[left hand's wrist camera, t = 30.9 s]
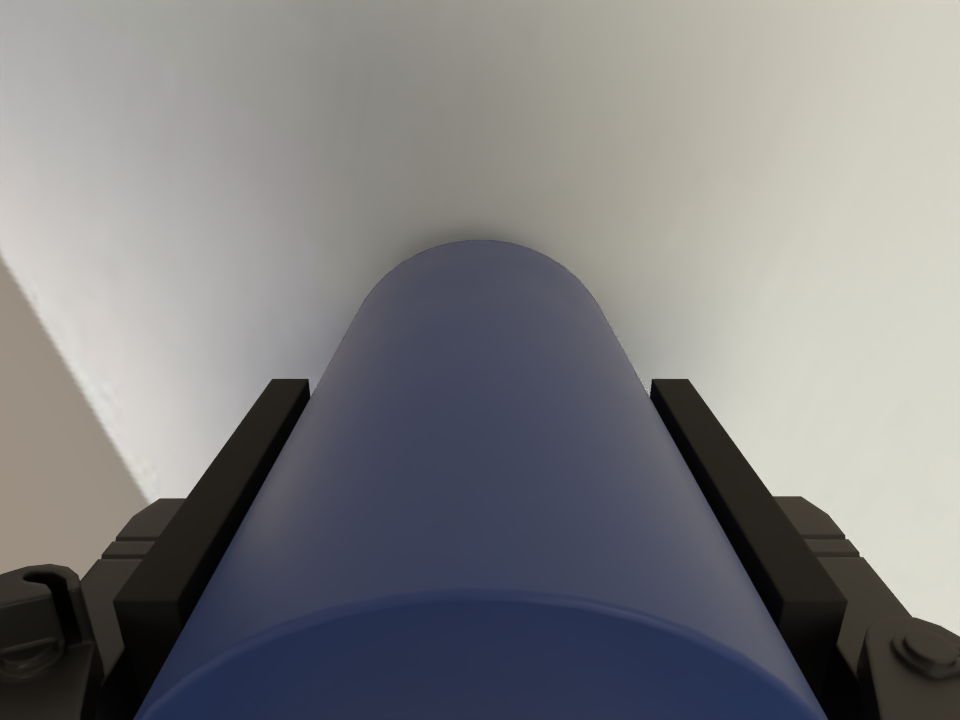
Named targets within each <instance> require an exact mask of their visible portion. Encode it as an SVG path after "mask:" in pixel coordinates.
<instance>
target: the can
mask: <svg viewBox="0 0 960 720" xmlns="http://www.w3.org/2000/svg"><path fill="white" fill-rule="evenodd" d="M133 720H828V719H827V717H826V715H825V713H824V711H823V710H822V708H821V706H820V704H819V702H818V701H817V699H816V697H815V695H814V693H813V692H812V690H811V688H810V686H809V684H808V683H807V681H806V679H805V677H804V675H803V674H802V672H801V670H800V668H799V666H798V665H797V663H796V661H795V659H794V657H793V656H792V654H791V652H790V650H789V648H788V646H787V645H786V643H785V641H784V639H783V637H782V636H781V634H780V632H779V630H778V628H777V627H776V625H775V623H774V621H773V619H772V618H771V616H770V614H769V612H768V610H767V609H766V607H765V605H764V603H763V601H762V600H761V598H760V596H759V594H758V592H757V591H756V589H755V587H754V585H753V583H752V581H751V580H750V578H749V576H748V574H747V572H746V571H745V569H744V567H743V565H742V563H741V562H740V560H739V558H738V556H737V554H736V553H735V551H734V549H733V547H732V545H731V544H730V542H729V540H728V538H727V536H726V535H725V533H724V531H723V529H722V527H721V526H720V524H719V522H718V520H717V518H716V516H715V515H714V513H713V511H712V509H711V507H710V506H709V504H708V502H707V500H706V498H705V497H704V495H703V493H702V491H701V489H700V488H699V486H698V484H697V482H696V480H695V479H694V477H693V475H692V473H691V471H690V470H689V468H688V466H687V464H686V462H685V461H684V459H683V457H682V455H681V453H680V452H679V450H678V448H677V446H676V444H675V442H674V441H673V439H672V437H671V435H670V433H669V432H668V430H667V428H666V426H665V424H664V423H663V421H662V419H661V417H660V415H659V414H658V412H657V410H656V408H655V406H654V405H653V403H652V401H651V399H650V397H649V396H648V394H647V392H646V390H645V388H644V387H643V385H642V383H641V381H640V379H639V377H638V376H637V374H636V372H635V370H634V368H633V367H632V365H631V363H630V361H629V359H628V358H627V356H626V354H625V352H624V350H623V349H622V347H621V345H620V343H619V341H618V340H617V338H616V336H615V334H614V332H613V331H612V329H611V327H610V325H609V323H608V322H607V320H606V318H605V316H604V314H603V313H602V311H601V309H600V307H599V305H598V304H597V302H596V301H595V299H594V298H593V296H592V295H591V294H590V292H589V291H588V289H587V288H586V287H585V286H584V285H583V284H582V283H581V282H580V281H579V280H578V279H577V278H576V277H575V276H574V275H573V274H572V273H570V272H569V271H568V270H567V269H566V268H564V267H563V266H562V265H560V264H559V263H557V262H555V261H554V260H552V259H550V258H549V257H547V256H545V255H543V254H541V253H538V252H536V251H534V250H532V249H529V248H526V247H523V246H519V245H516V244H512V243H507V242H500V241H493V240H469V241H460V242H453V243H449V244H445V245H441V246H437V247H434V248H431V249H429V250H426V251H424V252H421V253H419V254H417V255H415V256H413V257H411V258H410V259H408V260H406V261H404V262H402V263H401V264H400V265H398V266H397V267H396V268H394V269H393V270H392V271H390V272H389V273H388V274H387V275H386V276H385V277H384V278H383V279H382V280H381V281H380V282H379V283H378V284H377V285H376V286H375V287H374V288H373V290H372V291H371V292H370V294H369V295H368V296H367V297H366V299H365V300H364V302H363V304H362V306H361V307H360V309H359V311H358V313H357V315H356V316H355V318H354V320H353V322H352V324H351V325H350V327H349V329H348V331H347V333H346V334H345V336H344V338H343V340H342V342H341V344H340V345H339V347H338V349H337V351H336V353H335V354H334V356H333V358H332V360H331V362H330V364H329V365H328V367H327V369H326V371H325V373H324V374H323V376H322V378H321V380H320V382H319V383H318V385H317V387H316V389H315V391H314V393H313V394H312V396H311V398H310V400H309V402H308V403H307V405H306V407H305V409H304V411H303V413H302V414H301V416H300V418H299V420H298V422H297V423H296V425H295V427H294V429H293V431H292V432H291V434H290V436H289V438H288V440H287V442H286V443H285V445H284V447H283V449H282V451H281V452H280V454H279V456H278V458H277V460H276V462H275V463H274V465H273V467H272V469H271V471H270V472H269V474H268V476H267V478H266V480H265V481H264V483H263V485H262V487H261V489H260V491H259V492H258V494H257V496H256V498H255V500H254V501H253V503H252V505H251V507H250V509H249V511H248V512H247V514H246V516H245V518H244V520H243V521H242V523H241V525H240V527H239V529H238V530H237V532H236V534H235V536H234V538H233V540H232V541H231V543H230V545H229V547H228V549H227V550H226V552H225V554H224V556H223V558H222V560H221V561H220V563H219V565H218V567H217V569H216V570H215V572H214V574H213V576H212V578H211V579H210V581H209V583H208V585H207V587H206V589H205V590H204V592H203V594H202V596H201V598H200V599H199V601H198V603H197V605H196V607H195V609H194V610H193V612H192V614H191V616H190V618H189V619H188V621H187V623H186V625H185V627H184V629H183V630H182V632H181V634H180V636H179V638H178V639H177V641H176V643H175V645H174V647H173V648H172V650H171V652H170V654H169V656H168V658H167V659H166V661H165V663H164V665H163V667H162V668H161V670H160V672H159V674H158V676H157V678H156V679H155V681H154V683H153V685H152V687H151V688H150V690H149V692H148V694H147V696H146V697H145V699H144V701H143V703H142V705H141V707H140V708H139V710H138V712H137V714H136V716H135V717H134V719H133Z"/></svg>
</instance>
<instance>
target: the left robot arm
mask: <svg viewBox="0 0 960 720" xmlns="http://www.w3.org/2000/svg"><path fill="white" fill-rule="evenodd" d="M650 399H651V401H652V403H653V405H654V406H655V408H656V410H657V412H658V414H659V415H660V417H661V419H662V421H663V423H664V424H665V426H666V428H667V430H668V432H669V433H670V435H671V437H672V439H673V441H674V442H675V444H676V446H677V448H678V450H679V452H680V453H681V455H682V457H683V459H684V461H685V462H686V464H687V466H688V468H689V470H690V471H691V473H692V475H693V477H694V479H695V480H696V482H697V484H698V486H699V488H700V489H701V491H702V493H703V495H704V497H705V498H706V500H707V502H708V504H709V506H710V507H711V509H712V511H713V513H714V515H715V516H716V518H717V520H718V522H719V524H720V526H721V527H722V529H723V531H724V533H725V535H726V536H727V538H728V540H729V542H730V544H731V545H732V547H733V549H734V551H735V553H736V554H737V556H738V558H739V560H740V562H741V563H742V565H743V567H744V569H745V571H746V572H747V574H748V576H749V578H750V580H751V581H752V583H753V585H754V587H755V589H756V591H757V592H758V594H759V596H760V598H761V600H762V601H763V603H764V605H765V607H766V609H767V610H768V612H769V614H770V616H771V618H772V619H773V621H774V623H775V625H776V627H777V628H778V630H779V632H780V634H781V636H782V637H783V639H784V641H785V643H786V645H787V646H788V648H789V650H790V652H791V654H792V656H793V657H794V659H795V661H796V663H797V665H798V666H799V668H800V670H801V672H802V674H803V675H804V677H805V679H806V681H807V683H808V684H809V686H810V688H811V690H812V692H813V693H814V695H815V697H816V699H817V701H818V702H819V704H820V706H821V708H822V710H823V711H824V713H825V715H826V717H827V719H828V720H960V637H959V636H958V635H956V634H954V633H952V632H950V631H949V630H947V629H945V628H943V627H941V626H939V625H936V624H933V623H930V622H927V621H924V620H921V619H918V618H913V617H912V616H911V615H910V614H909V613H908V611H907V610H906V609H905V608H904V606H903V605H902V604H901V603H900V602H899V600H898V599H897V598H896V597H895V595H894V594H893V593H892V592H891V591H890V589H889V588H888V587H887V586H886V584H885V583H884V582H883V581H882V580H881V578H880V577H879V576H878V575H877V574H876V572H875V571H874V570H873V569H872V567H871V566H870V565H869V564H868V563H867V561H866V560H865V559H864V558H863V557H860V555H859V552H858V550H857V549H856V548H855V547H854V546H853V544H852V543H851V542H850V541H849V539H845V535H844V533H843V532H842V531H841V530H840V528H839V527H838V526H837V525H836V524H835V522H834V521H833V520H832V519H831V517H830V516H829V515H828V514H827V513H825V512H824V511H822V510H821V509H819V508H818V507H816V506H815V505H813V504H812V503H810V502H809V501H807V500H806V499H804V498H803V497H801V496H772V495H771V493H770V492H769V491H768V489H767V488H766V487H765V485H764V484H763V482H762V481H761V480H760V478H759V477H758V475H757V474H756V473H755V471H754V470H753V468H752V467H751V466H750V464H749V463H748V462H747V460H746V459H745V457H744V456H743V455H742V453H741V452H740V450H739V449H738V448H737V446H736V445H735V444H734V442H733V441H732V439H731V438H730V437H729V435H728V434H727V432H726V431H725V430H724V428H723V427H722V425H721V424H720V423H719V421H718V420H717V419H716V417H715V416H714V414H713V413H712V412H711V410H710V409H709V407H708V406H707V405H706V403H705V402H704V400H703V399H702V398H701V396H700V395H699V394H698V392H697V391H696V389H695V388H694V387H693V385H692V384H691V382H690V381H689V380H688V379H652V383H651V393H650ZM309 400H310V389H309V380H308V379H272V380H271V382H270V383H269V384H268V386H267V387H266V388H265V390H264V391H263V393H262V394H261V395H260V397H259V398H258V400H257V401H256V402H255V404H254V405H253V407H252V408H251V409H250V411H249V412H248V413H247V415H246V416H245V418H244V419H243V420H242V422H241V423H240V425H239V426H238V427H237V429H236V430H235V432H234V433H233V434H232V436H231V437H230V438H229V440H228V441H227V443H226V444H225V445H224V447H223V448H222V450H221V451H220V452H219V454H218V455H217V457H216V458H215V459H214V461H213V462H212V463H211V465H210V466H209V468H208V469H207V470H206V472H205V473H204V475H203V476H202V477H201V479H200V480H199V482H198V483H197V484H196V486H195V487H194V488H193V490H192V491H191V493H190V494H189V495H188V497H187V498H186V499H158V500H157V501H155V502H154V503H152V504H151V505H149V506H148V507H146V508H145V509H143V510H142V511H140V512H139V513H137V514H136V515H134V516H133V517H132V518H131V520H130V521H129V522H128V523H127V524H126V526H125V527H124V528H123V529H122V531H121V532H120V533H119V534H118V536H117V537H116V541H115V542H112V543H111V544H110V545H109V547H108V548H107V549H106V550H105V551H104V553H103V554H102V558H101V559H98V560H97V561H96V562H95V564H94V565H93V566H92V567H91V569H90V570H89V571H88V572H87V573H86V575H85V576H84V577H83V578H82V580H81V581H80V580H79V576H78V575H77V574H76V573H75V572H74V571H72V570H71V569H70V568H69V567H65V566H59V565H53V564H45V565H36V566H27V567H24V568H20V569H17V570H14V571H10V572H7V573H4V574H1V575H0V720H133V719H134V717H135V716H136V714H137V712H138V710H139V708H140V707H141V705H142V703H143V701H144V699H145V697H146V696H147V694H148V692H149V690H150V688H151V687H152V685H153V683H154V681H155V679H156V678H157V676H158V674H159V672H160V670H161V668H162V667H163V665H164V663H165V661H166V659H167V658H168V656H169V654H170V652H171V650H172V648H173V647H174V645H175V643H176V641H177V639H178V638H179V636H180V634H181V632H182V630H183V629H184V627H185V625H186V623H187V621H188V619H189V618H190V616H191V614H192V612H193V610H194V609H195V607H196V605H197V603H198V601H199V599H200V598H201V596H202V594H203V592H204V590H205V589H206V587H207V585H208V583H209V581H210V579H211V578H212V576H213V574H214V572H215V570H216V569H217V567H218V565H219V563H220V561H221V560H222V558H223V556H224V554H225V552H226V550H227V549H228V547H229V545H230V543H231V541H232V540H233V538H234V536H235V534H236V532H237V530H238V529H239V527H240V525H241V523H242V521H243V520H244V518H245V516H246V514H247V512H248V511H249V509H250V507H251V505H252V503H253V501H254V500H255V498H256V496H257V494H258V492H259V491H260V489H261V487H262V485H263V483H264V481H265V480H266V478H267V476H268V474H269V472H270V471H271V469H272V467H273V465H274V463H275V462H276V460H277V458H278V456H279V454H280V452H281V451H282V449H283V447H284V445H285V443H286V442H287V440H288V438H289V436H290V434H291V432H292V431H293V429H294V427H295V425H296V423H297V422H298V420H299V418H300V416H301V414H302V413H303V411H304V409H305V407H306V405H307V403H308V402H309Z"/></svg>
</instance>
